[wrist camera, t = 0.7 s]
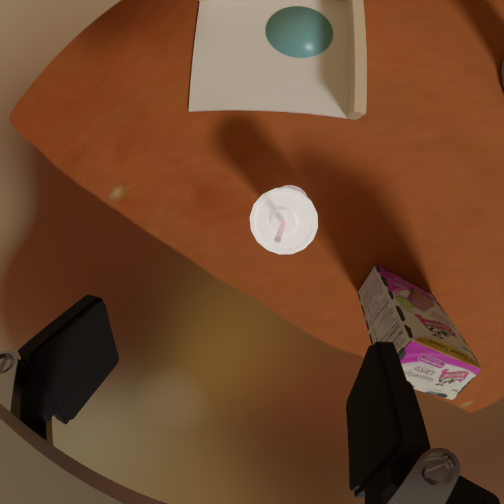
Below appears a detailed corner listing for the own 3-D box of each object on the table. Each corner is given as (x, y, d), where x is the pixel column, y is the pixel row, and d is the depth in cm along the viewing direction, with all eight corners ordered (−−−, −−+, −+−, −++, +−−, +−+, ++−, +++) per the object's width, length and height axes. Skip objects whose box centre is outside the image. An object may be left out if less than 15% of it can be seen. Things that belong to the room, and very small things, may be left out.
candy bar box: (434, 292, 33) (484, 368, 17) (415, 320, 34) (452, 402, 19) (374, 260, 33) (413, 339, 18) (355, 292, 35) (376, 381, 20)
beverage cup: (294, 168, 31) (285, 178, 18) (325, 209, 32) (337, 249, 19) (254, 199, 33) (219, 230, 20) (285, 238, 34) (270, 292, 21)
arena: (354, -2, 21) (360, -23, 16) (356, 120, 28) (365, 113, 22) (202, -3, 24) (186, -21, 19) (190, 111, 31) (170, 105, 26)
